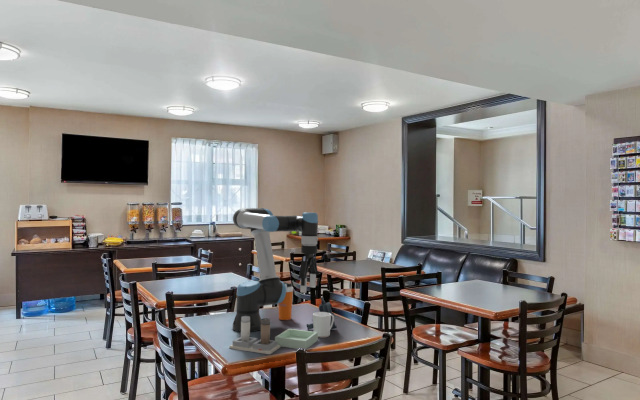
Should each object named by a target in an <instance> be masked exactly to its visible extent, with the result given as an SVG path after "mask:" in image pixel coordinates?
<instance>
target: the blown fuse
mask: <svg viewBox="0 0 640 400" xmlns="http://www.w3.org/2000/svg"><path fill="white" fill-rule="evenodd" d="M260 339H261V344H264V345H269V344H270V340H271V318H261V330H260Z"/></svg>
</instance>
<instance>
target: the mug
mask: <svg viewBox="0 0 640 400" xmlns="http://www.w3.org/2000/svg"><path fill="white" fill-rule="evenodd" d="M331 316H332V323H331ZM333 322H335V315H334V316H333V315H332V314H330V313H327V312H320V311H317V312H313V313H312V323H313V329H312V330H313V331H312V332H318V338H328V337H330V334H331V330H332V329H331V328H332V325H333ZM330 323H331V326H330ZM330 329H331V330H330Z"/></svg>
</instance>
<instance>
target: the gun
mask: <svg viewBox="0 0 640 400" xmlns="http://www.w3.org/2000/svg"><path fill="white" fill-rule="evenodd" d="M320 300H321V302H320V303H321V304H320V303H319V306H318V312H327V313H330V314H332V315H333V316H334V317H335V314H334V312H333V311H332V307H333V306H332V303H330V301H328V302H326V301H325V300H324V296H322V297H320ZM331 323H332V316H331ZM331 323H330V326H331ZM306 329H307V331H310V330H313V322H312V323H309V324H308V323H306ZM334 329H338V327H337V325H336V323H335V321H334V322H333V325H332V328H331V329H330V331H331V330H334Z"/></svg>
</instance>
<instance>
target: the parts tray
mask: <svg viewBox="0 0 640 400" xmlns="http://www.w3.org/2000/svg"><path fill="white" fill-rule="evenodd" d="M318 338H319V337H318V332H313V331H310V330H304V329H303V330H301V329H294V328H287V329H286V330H284V331H282V332H281V333H279V334H278V335H276V336H274V341H277V345H280V347H284V348H290V349H297V350H300V349H299V348H305V349H306V350H308V349H309V348H310V347H311V346H312V345H314V344H315V343H316V342H317V341H318V340H319V339H318Z"/></svg>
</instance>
